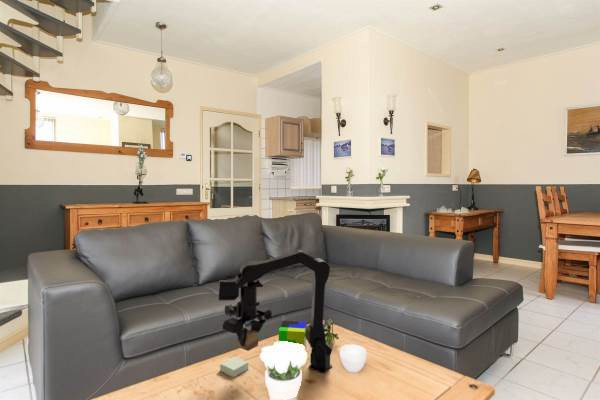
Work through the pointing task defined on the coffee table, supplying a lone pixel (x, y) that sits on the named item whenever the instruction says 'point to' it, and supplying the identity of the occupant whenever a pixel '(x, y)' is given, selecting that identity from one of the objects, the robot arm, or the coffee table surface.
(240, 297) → the robot arm
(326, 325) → the passion flower
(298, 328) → the puzzle toy
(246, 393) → the coffee table surface
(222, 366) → the pale green block
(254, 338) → the walnut cube
